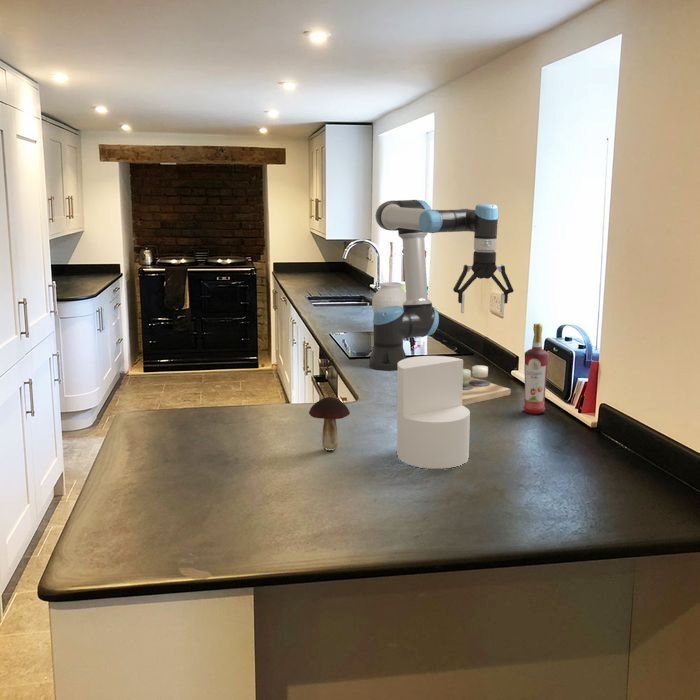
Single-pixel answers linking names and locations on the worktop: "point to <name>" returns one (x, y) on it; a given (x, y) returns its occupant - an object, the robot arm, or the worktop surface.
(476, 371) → the cream button
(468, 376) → the sage button
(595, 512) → the worktop surface
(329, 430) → the decorative mushroom
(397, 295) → the vase
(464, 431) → the cylinder
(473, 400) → the button board
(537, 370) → the liquor
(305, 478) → the worktop surface
